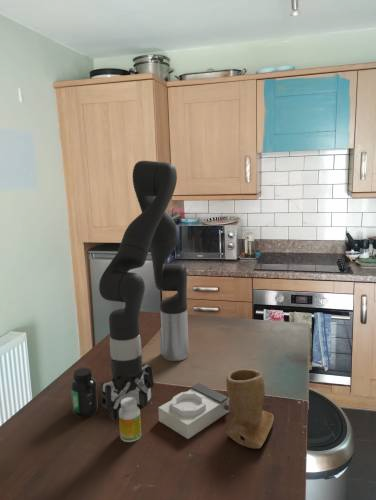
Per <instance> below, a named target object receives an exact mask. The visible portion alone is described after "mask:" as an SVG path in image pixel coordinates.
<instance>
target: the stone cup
mask: <svg viewBox="0 0 376 500" xmlns="http://www.w3.org/2000/svg"><path fill="white" fill-rule="evenodd" d="M225 384H226V392H227V397H228V398H229V402H230V404H231V406H232V407H231V408H232V409H233V413H234V417H233V419H232V421H231V423H230V424H229V427H228V430H226V435H227V436H228V437H229V438H231V439H232V440H233V441H234V442H236V443H237V444H239V445H241V446H244V447H246V448H249V449H255V450H257V449H260V448H262V446H263V444H264V443H265V441H266V439H267V438H268V435H269V433H270V432H271V429H272V427H273V424H274V420H275V419H274V418H275V417H274V414H273V413H271V412H269V411H266V410H263V407H264V406H263V405H264V400H265V394H266V391H265V381H264V377H263V375H262V373H261V372H260V371H259V370H256V369H253V368H239V369H235V370H233V371H231V372H229V373H228V374H227V376H226V383H225Z"/></svg>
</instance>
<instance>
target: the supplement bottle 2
mask: <svg viewBox="0 0 376 500" xmlns="http://www.w3.org/2000/svg"><path fill="white" fill-rule="evenodd" d="M118 423H119V424H118V425H119V438H120V439H121V441H123V442H124V443H132V442H133V443H134V442H137V441H138V440H139V439H140V438H141V436H142V421H141V410H140V407H139V406H138V404H137V400H136V399H135V398H132V397H128V398H124V399H123V400H122V401H121V400H120V408H119V421H118Z"/></svg>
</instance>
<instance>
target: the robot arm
mask: <svg viewBox="0 0 376 500" xmlns="http://www.w3.org/2000/svg"><path fill="white" fill-rule="evenodd" d="M177 179H178V174H177V169H176V167H175V165H174V164H173V163H170V162H165V161H164V162H163V161H154V160H153V161H152V160H140V161H137V162H136V163H135V165H134V166H133V169H132V185H133V188H134V193H135V195H136V199H137V202H138V204H139V207H140V210H141V213H140V214H139V215H137V216H136V218H134V219H133V220H132V221H131V222H130V224H128V226H127V227H126V229H125V230H124V233H123V236H122V237H121V238H122V239H121V242H120V245H119V248H118V251H117V253H116V254H115V256H114V257H113V258H112V260H111V261H110V262H109V264H108V266H107V267H106V268H105V270H104V272H103V273H102V274H101V277H100V279H99V283H98V289H99V294H100V296H101V297H102V299H104V300H105V301H111V302H118V303H119V302H120V303H124V304H125V306H124V307H123V308H118V309H115V310H112V312H110V314H109V317H108V323H109V324H108V325H109V355H110V367H111V368H110V369H111V370H110V371H111V375H112V379H111V380H110V381H107V382H104V381H103V382H101V384H100V397H101V398H100V400H101V401H100V403H101V406H102V407H104V408H105V409H106V410H108V411H109V417H110V419H112V420H113V421H114V422H116V423H117V422H119V410H120V408H119V404H121V400H122V399H123V397H124V395H125V394H127V393H129V392H130V391H133V390H135V389H136V387H137V388H138V389H139V390H140V391H139V404H140V406H141V407H143V408H145V407H147V405H148V402H149V401H148V396H147V392H148V389H149V388H150V389H152V388H154V385H155V384H154V374H153V367H152V365H151V366H150V365H148V364H146V363H143V355H142V353H143V351H142V340H141V334H140V314H141V308H142V304H143V303H142V302H143V300H144V299H143V298H144V295H145V289H146V285H145V281H144V278H143V277H142V276H141V275H140V274H139V273H136V272H129V271H130V270H135V269H138V268H139V269H140V268H141V267H143V266H144V265H145V263H146V260H147V257H148V254H149V251H150V256H151V261H152V270H153V277H154V284H155V286H156V289H157V290H159V291H161V292H177V293H175V294H174V295H172V296H170V297H167V298H164V299H162V300H161V301H160V306H159V307H160V308H159V309H160V324H161V325H160V327H161V328H160V329H159V343H160V355H162V358H163V359H164V360H165V361H166V360H167V361H170V362H178V361H180V362H181V361H183V360H186V359H187V358H188V357H189V329H188V327H189V326H188V298H187V296H188V295H187V294H188V292H187V291H188V290H187V289H188V287H187V286H188V271H187V269H188V268H187V267H186V265H185V264H184V263H165V262H166V261H167V259H168V258H169V257H170V255H171V254H172V253H173V252H174V251H175V249H176V247H177V244H178V240H179V239H178V232H177V231H178V230H177V226H176V225H177V224H176V222H175V220H174V219H173V217H172V216H171V215H170V213H169V212H168V211H167V208H168V206H169V204H170V202H171V200H172V198H173V195H174V193H175V189H176V187H177ZM142 374H143V378H144V384H143V383H142V382H141V381H140V379H141V377H142ZM118 392H119V393H118ZM139 404H138V405H139Z"/></svg>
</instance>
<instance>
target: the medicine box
mask: <svg viewBox="0 0 376 500" xmlns="http://www.w3.org/2000/svg"><path fill="white" fill-rule="evenodd" d="M140 381H141V382H142V383H143V384H144V378H143V374H142V377H141V379H140ZM151 389H152V388H149V389H148V392H147V396H148V402H149V401H150V400H151V398H152V392H151ZM139 391H140V390H139V389H138V388H137V387H136V389H135V390H133V391H130V392H129V393H127V394H125V395H124V397H123V399H124V398H128V397H132V398H135V399H136V400H137V405H140V404H139ZM123 399H122V400H123ZM122 400H120V402H121V401H122ZM140 406H141V405H140Z"/></svg>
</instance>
